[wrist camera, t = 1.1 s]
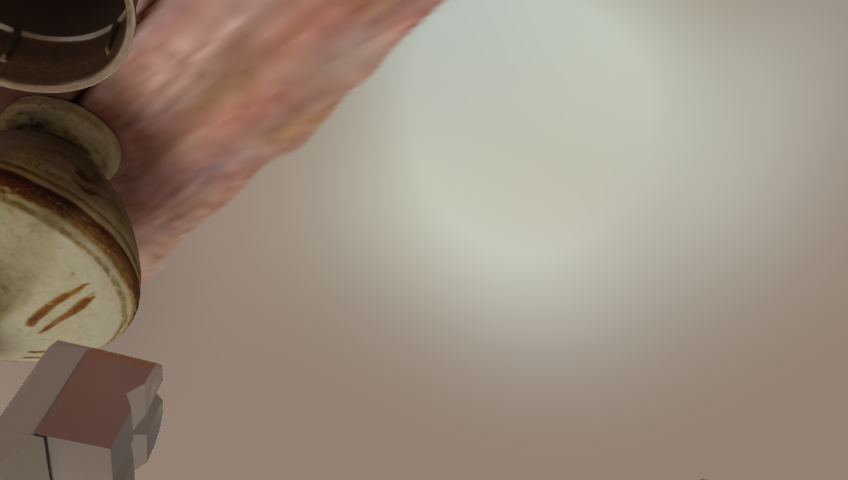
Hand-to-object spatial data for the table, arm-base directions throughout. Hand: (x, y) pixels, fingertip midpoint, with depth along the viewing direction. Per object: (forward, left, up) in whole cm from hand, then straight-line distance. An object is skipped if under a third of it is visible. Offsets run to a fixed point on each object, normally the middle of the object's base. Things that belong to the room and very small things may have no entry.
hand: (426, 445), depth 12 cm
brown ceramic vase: (+57, -8, -47) cm, 74 cm away
